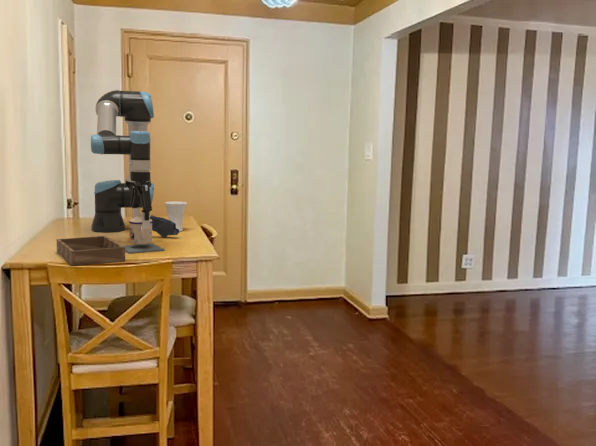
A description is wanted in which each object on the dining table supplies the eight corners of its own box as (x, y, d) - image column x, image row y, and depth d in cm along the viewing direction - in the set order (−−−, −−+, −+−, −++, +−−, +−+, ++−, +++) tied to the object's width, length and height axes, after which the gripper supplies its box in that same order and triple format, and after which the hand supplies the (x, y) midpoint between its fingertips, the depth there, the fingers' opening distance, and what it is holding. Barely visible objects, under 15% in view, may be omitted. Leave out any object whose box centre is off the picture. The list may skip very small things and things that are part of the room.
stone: (179, 236, 252) (179, 214, 251) (179, 238, 246) (179, 216, 245) (147, 236, 249) (147, 214, 248) (147, 239, 244) (146, 216, 242)
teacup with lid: (128, 241, 225) (128, 212, 223) (151, 240, 228) (151, 212, 226) (130, 246, 214) (130, 216, 212) (154, 245, 217) (154, 216, 215)
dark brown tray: (56, 252, 210) (56, 239, 210) (105, 248, 220) (105, 235, 220) (72, 266, 189) (71, 251, 188) (125, 261, 199) (125, 247, 198)
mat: (118, 247, 223) (118, 245, 223) (152, 244, 231) (152, 243, 231) (129, 253, 212) (129, 252, 212) (164, 250, 219) (164, 249, 219)
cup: (160, 231, 265) (160, 202, 263) (173, 228, 274) (172, 200, 272) (178, 233, 261) (178, 204, 259) (191, 230, 271) (191, 202, 269)
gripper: (121, 169, 224) (122, 222, 228) (140, 173, 205) (141, 231, 208) (140, 169, 229) (140, 221, 232) (160, 173, 209) (160, 230, 212)
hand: (141, 226), depth 220 cm, fingers closed on teacup with lid, 11 cm apart
